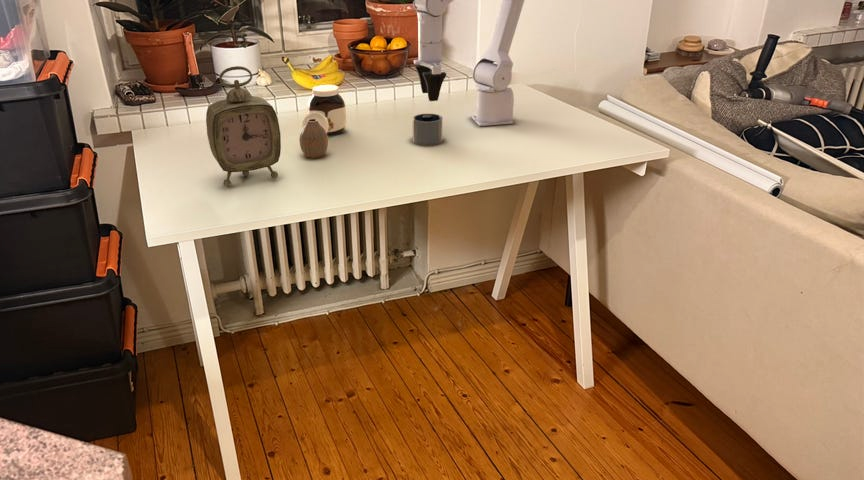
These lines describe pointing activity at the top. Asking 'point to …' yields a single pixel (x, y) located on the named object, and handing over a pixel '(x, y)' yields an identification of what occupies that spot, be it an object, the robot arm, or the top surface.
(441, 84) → the robot arm
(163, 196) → the top surface
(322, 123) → the spread jar
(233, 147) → the tabletop clock
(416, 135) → the grey plastic cup
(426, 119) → the grey upright block
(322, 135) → the vase
